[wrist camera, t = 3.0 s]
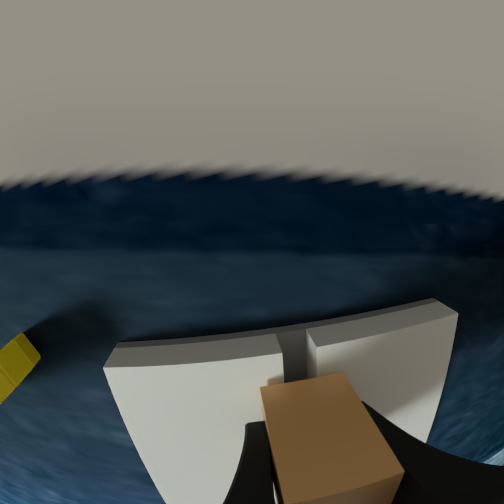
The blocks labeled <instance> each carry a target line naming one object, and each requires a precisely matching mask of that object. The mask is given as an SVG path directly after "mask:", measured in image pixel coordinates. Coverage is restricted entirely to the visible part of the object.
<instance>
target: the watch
mask: <svg viewBox="0 0 504 504" xmlns="http://www.w3.org/2000/svg"><path fill="white" fill-rule="evenodd" d="M39 359H40V354H39V353H38V352H37V350H36V349H35V348H34V347H33V345H32V344H31V343H30V341H29V340H28V339H27V337H26V336H25V335H24V333H20V334H19V335H17V336H16V337H15V338H14V339H12V340H11V341H10V342H9V343H8V344H7V345H6V346H4V347H3V348H2V349H1V350H0V404H1V403H2V402H3V401H4V400H5V399H6V398H7V397H8V396H9V394H10V393H11V392H12V391H13V390H14V389H15V388H16V387H17V386H18V385H19V384H20V382H21V381H22V380H23V379H24V378H25V377H26V376H27V375H28V373H29V372H30V371H31V370H32V369H33V368H34V366H35V365H36V364H37V362H38V361H39Z"/></svg>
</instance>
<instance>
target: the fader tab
mask: <svg viewBox="0 0 504 504" xmlns="http://www.w3.org/2000/svg"><path fill="white" fill-rule="evenodd" d="M260 395H261V404H262V413H263V421H265V425H266V429H267V433H268V437H269V447H270V457H271V466H272V476H273V486H274V493H275V498H276V503H277V504H391V503H392V501H393V498H394V496H395V494H396V492H397V489H398V487H399V485H400V482H401V480H402V477H403V475H404V472H405V471H404V469H403V468H402V466H401V464H400V463H399V461H398V460H397V458H396V456H395V455H394V453H393V451H392V450H391V448H390V447H389V445H388V443H387V442H386V440H385V439H384V437H383V435H382V434H381V432H380V431H379V429H378V427H377V426H376V424H375V423H374V421H373V419H372V418H371V416H370V415H369V413H368V411H367V410H366V408H365V407H364V405H363V403H362V402H361V400H360V399H359V397H358V395H357V394H356V392H355V391H354V389H353V387H352V386H351V384H350V383H349V381H348V380H347V378H346V376H345V375H344V373H343V372H341V373H336V374H331V375H326V376H322V377H316V378H311V379H306V380H299V381H294V382H288V383H282V384H276V385H269V386H262V387H260Z"/></svg>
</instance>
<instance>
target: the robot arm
mask: <svg viewBox="0 0 504 504" xmlns="http://www.w3.org/2000/svg"><path fill="white" fill-rule="evenodd" d="M361 402H362V403H363V405H364V407H365V408H366V410H367V411H368V413H369V415H370V416H371V418H372V419H373V421H374V423H375V424H376V426H377V427H378V429H379V431H380V432H381V434H382V435H383V437H384V439H385V440H386V442H387V443H388V445H389V447H390V448H391V450H392V451H393V453H394V455H395V456H396V458H397V460H398V461H399V463H400V464H401V466H402V468H403V469H404V471H405V472H404V475H403V477H402V480H401V482H400V485H399V487H398V489H397V492H396V494H395V496H394V498H393V501H392V503H391V504H504V466H498V465H490V464H485V463H479V462H475V461H471V460H467V459H464V458H460V457H457V456H454V455H451V454H449V453H446V452H444V451H441V450H439V449H437V448H434V447H432V446H430V445H428V444H426V443H424V442H422V441H420V440H419V439H417V438H415V437H413V436H412V435H410V434H408V433H407V432H405V431H404V430H402V429H401V428H399V427H398V426H396V425H395V424H393V423H392V422H390V421H389V420H388V419H386V418H385V417H384V416H382V415H381V414H380V413H378V412H377V411H376V410H374V409H373V408H372V407H370V406H369V405H368V404H366V403H365V402H364V401H361ZM223 504H276V503H275V498H274V486H273V476H272V466H271V457H270V447H269V437H268V433H267V429H266V425H265V421H257V422H249V423H247V424H246V425H245V437H244V443H243V448H242V453H241V456H240V460H239V464H238V467H237V470H236V473H235V476H234V479H233V481H232V484H231V487H230V489H229V491H228V494H227V496H226V498H225V500H224V502H223Z"/></svg>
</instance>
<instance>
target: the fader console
mask: <svg viewBox="0 0 504 504" xmlns="http://www.w3.org/2000/svg"><path fill="white" fill-rule="evenodd" d="M457 318H458V313H457V312H456V311H454V310H452V309H451V308H449V307H447V306H446V305H444V304H442V303H441V302H439V301H437V300H436V299H434V298H429V299H425V300H421V301H417V302H412V303H408V304H403V305H399V306H394V307H390V308H385V309H380V310H375V311H370V312H365V313H360V314H355V315H349V316H344V317H338V318H333V319H327V320H321V321H315V322H309V323H302V324H296V325H289V326H283V327H276V328H268V329H261V330H253V331H245V332H237V333H229V334H220V335H210V336H200V337H189V338H178V339H165V340H151V341H135V342H118V343H117V344H116V346H115V348H114V350H113V351H112V353H111V355H110V356H109V358H108V360H107V362H106V363H105V365H104V367H103V369H104V372H105V375H106V377H107V380H108V383H109V386H110V388H111V391H112V393H113V396H114V399H115V401H116V404H117V406H118V408H119V411H120V413H121V416H122V418H123V420H124V423H125V425H126V427H127V429H128V432H129V434H130V436H131V438H132V440H133V442H134V445H135V447H136V449H137V451H138V453H139V455H140V457H141V459H142V461H143V463H144V465H145V467H146V469H147V471H148V472H149V474H150V476H151V478H152V480H153V482H154V483H155V485H156V487H157V489H158V491H159V492H160V494H161V496H162V498H163V499H164V501H165V503H166V504H223V502H224V500H225V498H226V496H227V494H228V491H229V489H230V487H231V484H232V481H233V479H234V476H235V473H236V470H237V467H238V464H239V460H240V456H241V453H242V448H243V443H244V437H245V425H246V424H247V423H249V422H257V421H263V413H262V404H261V395H260V387H262V386H269V385H276V384H282V383H288V382H294V381H299V380H306V379H311V378H316V377H322V376H326V375H331V374H336V373H341V372H343V373H344V375H345V376H346V378H347V380H348V381H349V383H350V384H351V386H352V387H353V389H354V391H355V392H356V394H357V395H358V397H359V399H360V400H361V401H364V402H365V403H366V404H368V405H369V406H370V407H372V408H373V409H374V410H376V411H377V412H378V413H380V414H381V415H382V416H384V417H385V418H386V419H388V420H389V421H390V422H392V423H393V424H395V425H396V426H398V427H399V428H401V429H402V430H404V431H405V432H407V433H408V434H410V435H412V436H413V437H415V438H417V439H419V440H420V441H422V442H424V443H426V441H427V438H428V435H429V432H430V429H431V426H432V423H433V420H434V417H435V414H436V410H437V407H438V404H439V400H440V397H441V393H442V390H443V386H444V382H445V378H446V374H447V370H448V365H449V361H450V356H451V352H452V347H453V342H454V336H455V331H456V325H457ZM274 498H275V493H274ZM275 503H276V498H275ZM276 504H277V503H276Z"/></svg>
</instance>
